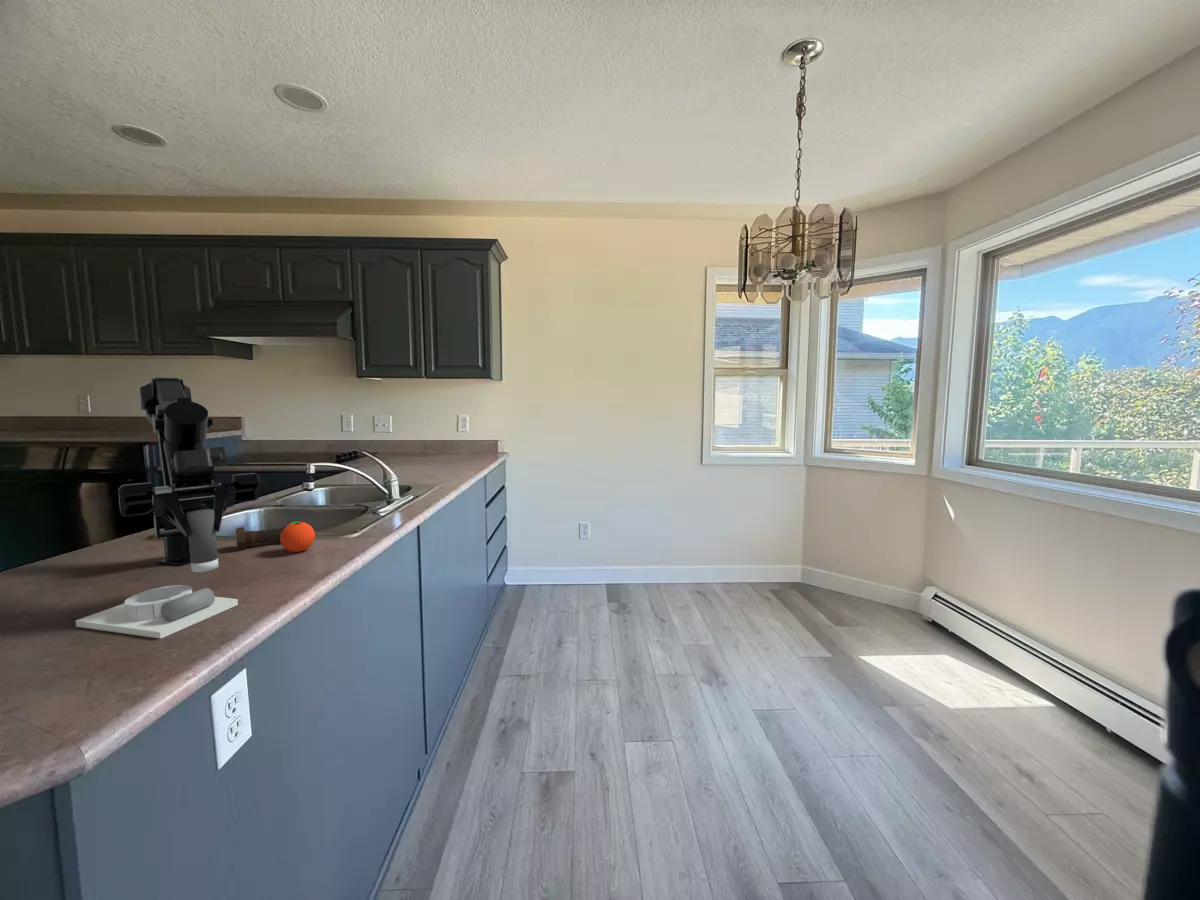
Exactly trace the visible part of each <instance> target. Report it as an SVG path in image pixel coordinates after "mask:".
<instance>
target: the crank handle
mask: <svg viewBox="0 0 1200 900" xmlns="http://www.w3.org/2000/svg"><path fill="white" fill-rule="evenodd" d="M186 516H187V524H188V528H189V536H188V538H189V549H190V560H191V562H190V569H191V571H190V572H192V573H203V572H209V571H212V570H216V569H217V568H219V567H220V565H219V556H218V555H219V554H218V543H217V532H216V530H215V517H214V510H213V509H210V508H207V509H203V510H195V511H190V512H187V513H186Z"/></svg>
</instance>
